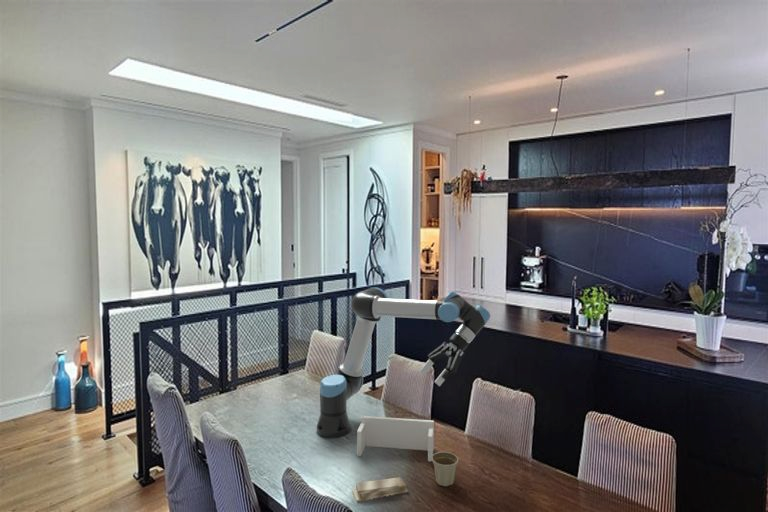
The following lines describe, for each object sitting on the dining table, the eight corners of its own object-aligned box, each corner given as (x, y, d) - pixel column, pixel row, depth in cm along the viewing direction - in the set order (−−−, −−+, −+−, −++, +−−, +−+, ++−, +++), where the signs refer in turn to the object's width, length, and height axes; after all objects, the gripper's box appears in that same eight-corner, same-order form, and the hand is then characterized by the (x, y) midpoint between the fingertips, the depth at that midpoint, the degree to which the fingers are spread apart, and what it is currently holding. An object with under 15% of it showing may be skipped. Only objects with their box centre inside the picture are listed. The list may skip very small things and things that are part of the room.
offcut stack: (356, 504, 148) (356, 493, 148) (352, 492, 154) (352, 482, 154) (407, 494, 153) (407, 483, 153) (401, 483, 160) (401, 473, 159)
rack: (356, 455, 178) (356, 426, 177) (361, 443, 187) (361, 415, 187) (432, 461, 173) (432, 431, 172) (433, 449, 183) (433, 420, 182)
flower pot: (429, 474, 164) (429, 452, 163) (454, 473, 165) (454, 450, 164) (434, 490, 155) (434, 466, 154) (461, 488, 156) (461, 464, 155)
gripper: (484, 352, 174) (450, 395, 170) (452, 336, 197) (421, 374, 193) (472, 339, 172) (437, 383, 167) (441, 326, 195) (410, 363, 191)
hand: (428, 378), depth 180 cm, fingers open, 13 cm apart
